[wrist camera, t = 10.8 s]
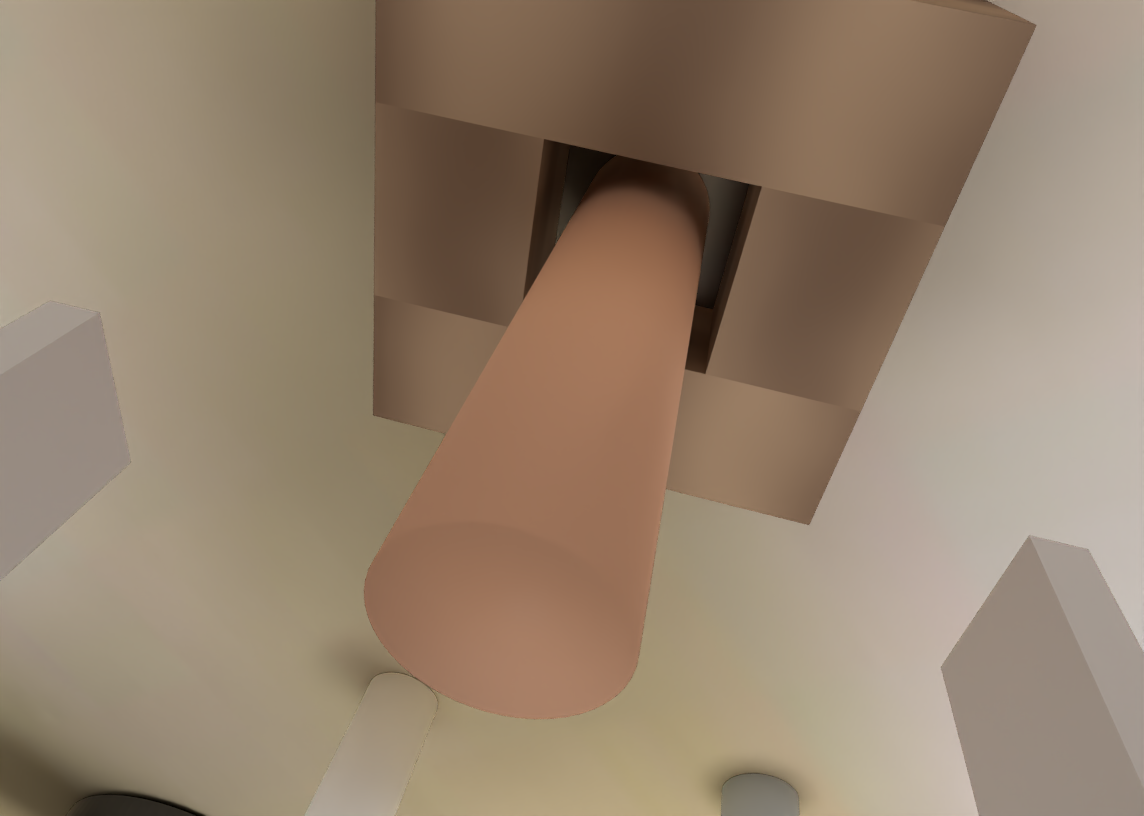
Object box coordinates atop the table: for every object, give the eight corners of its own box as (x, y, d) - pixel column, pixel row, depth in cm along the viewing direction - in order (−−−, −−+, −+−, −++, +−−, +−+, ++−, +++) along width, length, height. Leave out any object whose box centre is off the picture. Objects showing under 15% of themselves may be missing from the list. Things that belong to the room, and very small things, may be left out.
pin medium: (369, 707, 35) (266, 921, 28) (369, 664, 34) (259, 881, 26) (436, 726, 35) (350, 947, 28) (439, 684, 33) (349, 908, 26)
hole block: (419, 353, 24) (373, 415, 21) (440, -106, 17) (376, -105, 14) (802, 446, 23) (809, 524, 20) (988, 1, 16) (1036, 25, 13)
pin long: (577, 253, 21) (364, 677, 10) (597, 135, 19) (364, 488, 8) (692, 279, 21) (611, 746, 10) (723, 163, 19) (668, 568, 8)
